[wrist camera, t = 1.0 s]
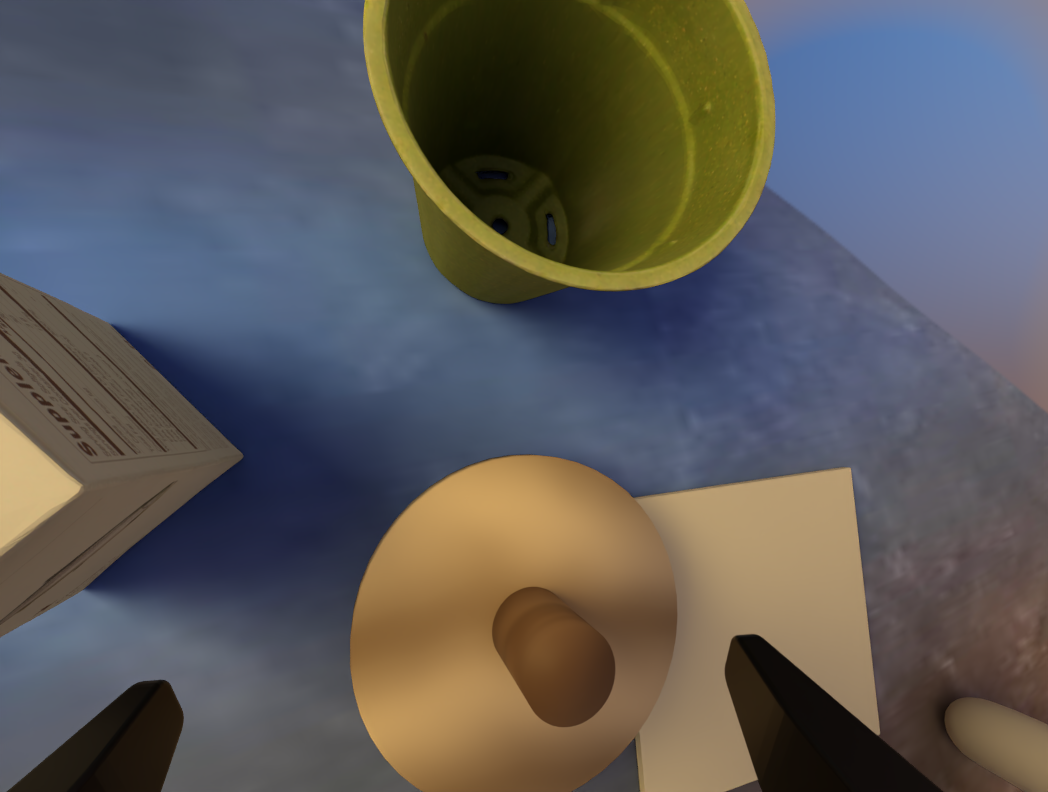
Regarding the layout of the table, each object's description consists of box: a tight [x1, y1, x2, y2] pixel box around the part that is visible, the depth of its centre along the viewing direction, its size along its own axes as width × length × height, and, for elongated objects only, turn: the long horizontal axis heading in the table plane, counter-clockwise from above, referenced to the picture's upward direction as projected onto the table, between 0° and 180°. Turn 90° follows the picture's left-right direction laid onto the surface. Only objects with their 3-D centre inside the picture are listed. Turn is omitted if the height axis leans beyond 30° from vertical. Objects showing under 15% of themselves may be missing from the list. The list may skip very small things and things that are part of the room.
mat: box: [634, 467, 880, 792], centre depth 27 cm, size 15×15×1 cm
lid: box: [350, 454, 677, 792], centre depth 18 cm, size 13×13×5 cm
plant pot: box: [363, 0, 775, 304], centre depth 19 cm, size 12×12×11 cm
